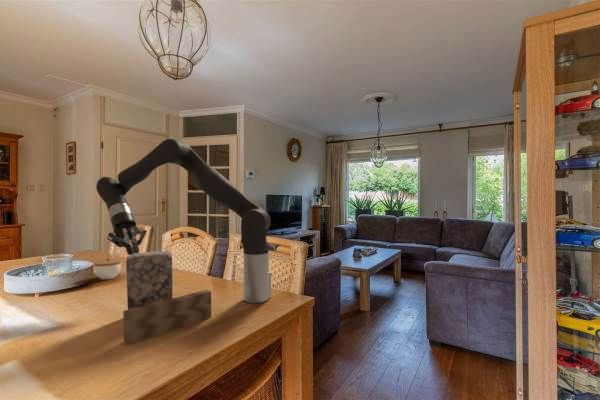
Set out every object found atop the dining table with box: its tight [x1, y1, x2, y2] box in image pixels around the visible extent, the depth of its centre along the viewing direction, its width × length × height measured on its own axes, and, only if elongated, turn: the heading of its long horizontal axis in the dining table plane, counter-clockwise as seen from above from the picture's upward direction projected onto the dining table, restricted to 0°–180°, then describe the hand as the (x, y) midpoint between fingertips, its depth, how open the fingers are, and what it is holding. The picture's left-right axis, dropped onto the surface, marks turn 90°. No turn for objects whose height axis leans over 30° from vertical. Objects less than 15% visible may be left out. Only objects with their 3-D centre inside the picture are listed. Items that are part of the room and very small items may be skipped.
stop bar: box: [122, 289, 212, 346], centre depth 86 cm, size 24×3×8 cm, turn 138°
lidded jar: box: [94, 257, 122, 280], centre depth 141 cm, size 11×11×9 cm
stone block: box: [125, 250, 174, 310], centre depth 96 cm, size 13×7×20 cm, turn 118°
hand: (134, 254), depth 105 cm, fingers closed
